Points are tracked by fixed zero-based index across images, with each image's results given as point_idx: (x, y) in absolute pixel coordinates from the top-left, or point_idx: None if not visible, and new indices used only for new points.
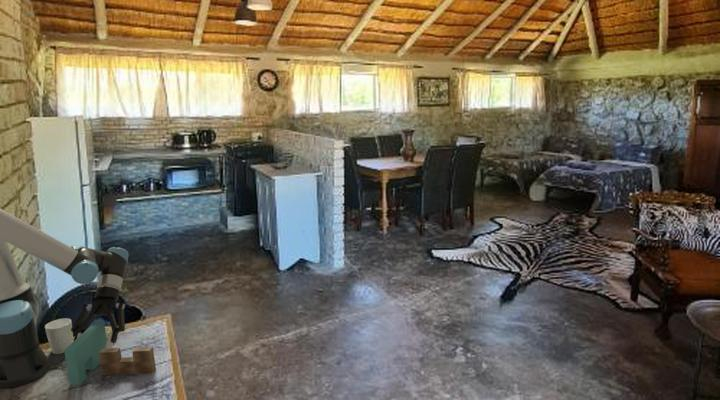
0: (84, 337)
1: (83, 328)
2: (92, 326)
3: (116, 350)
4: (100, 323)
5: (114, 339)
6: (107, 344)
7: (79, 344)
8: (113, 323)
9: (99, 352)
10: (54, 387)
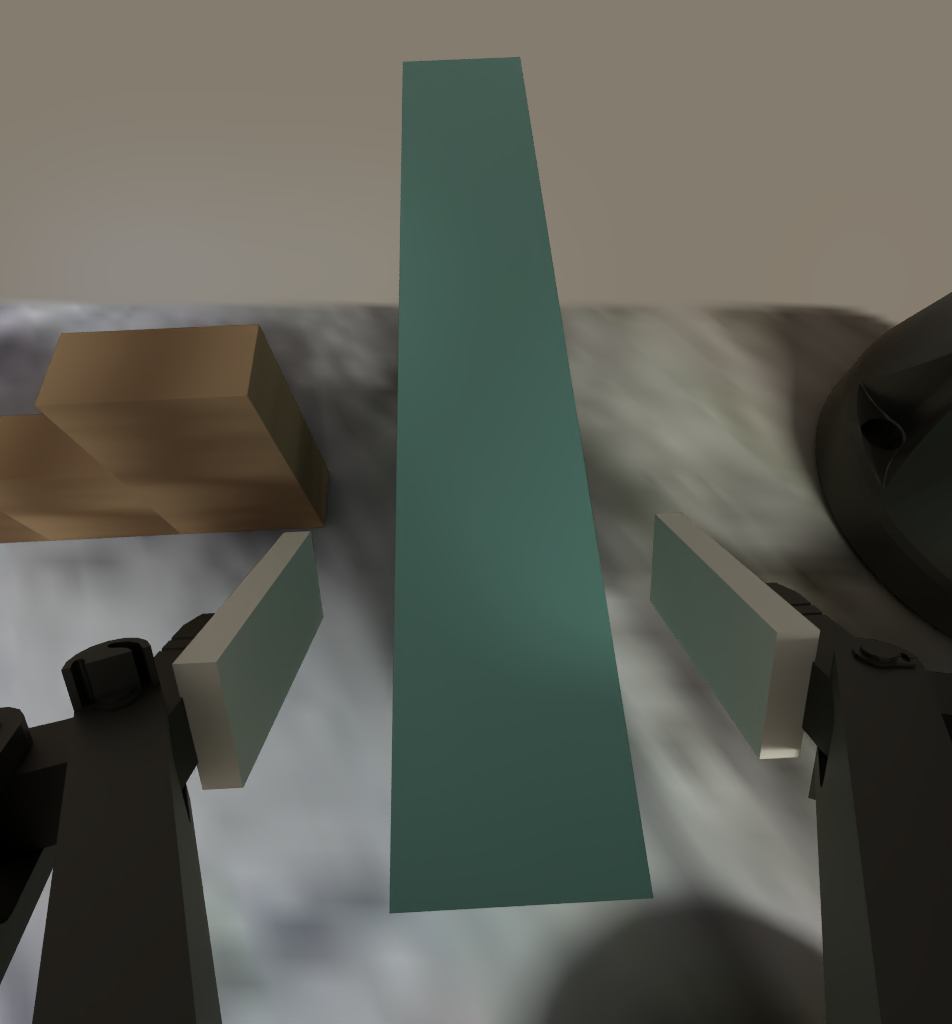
0: (448, 269)
1: (831, 746)
2: (557, 634)
3: (67, 360)
4: (442, 805)
5: (180, 632)
6: (273, 565)
7: (405, 135)
8: (79, 805)
9: (252, 326)
10: (600, 353)
